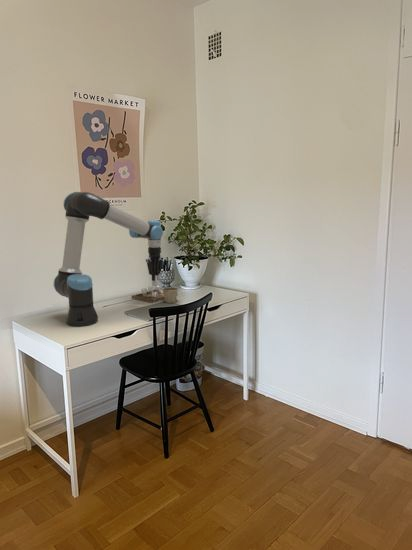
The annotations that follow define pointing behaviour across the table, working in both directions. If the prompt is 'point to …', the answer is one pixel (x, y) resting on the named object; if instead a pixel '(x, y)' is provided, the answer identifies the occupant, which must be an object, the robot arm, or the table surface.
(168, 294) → the flower pot
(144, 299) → the tray
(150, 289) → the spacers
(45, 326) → the table surface
